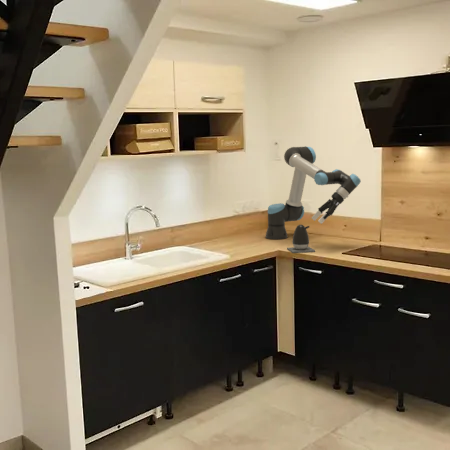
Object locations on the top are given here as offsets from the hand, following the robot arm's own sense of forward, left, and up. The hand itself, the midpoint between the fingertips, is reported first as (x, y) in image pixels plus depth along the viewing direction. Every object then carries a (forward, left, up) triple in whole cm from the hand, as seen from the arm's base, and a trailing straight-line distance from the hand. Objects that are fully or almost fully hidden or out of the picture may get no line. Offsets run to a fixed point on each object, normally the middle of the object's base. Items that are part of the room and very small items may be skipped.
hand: (316, 221), depth 355 cm
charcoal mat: (0, -10, -18) cm, 20 cm away
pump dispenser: (0, -10, -17) cm, 20 cm away
